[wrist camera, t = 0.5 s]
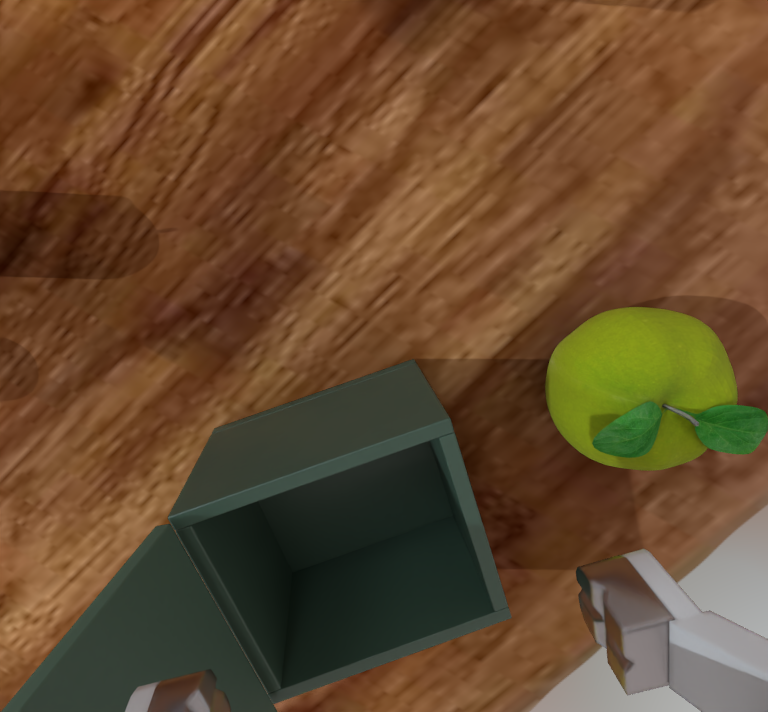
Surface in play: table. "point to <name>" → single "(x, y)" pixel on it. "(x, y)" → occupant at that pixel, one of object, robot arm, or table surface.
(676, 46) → the table surface
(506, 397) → the table surface
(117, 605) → the lid
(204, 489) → the chest
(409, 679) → the table surface
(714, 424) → the fruit
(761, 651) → the robot arm
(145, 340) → the table surface
